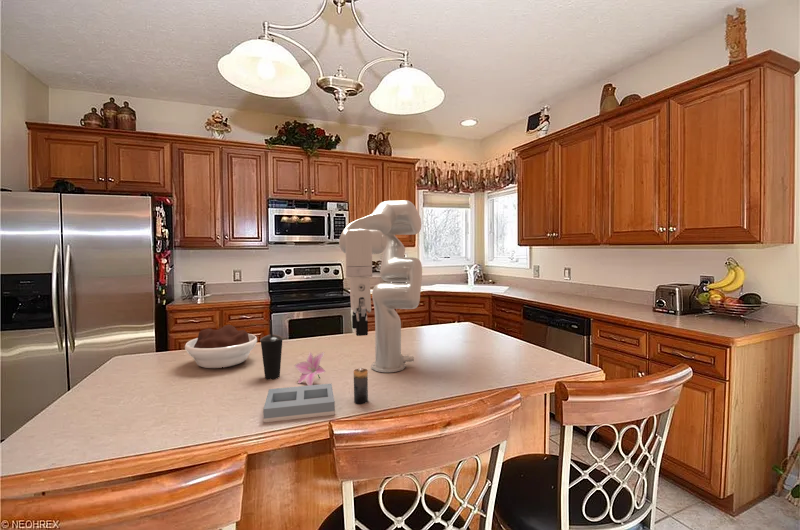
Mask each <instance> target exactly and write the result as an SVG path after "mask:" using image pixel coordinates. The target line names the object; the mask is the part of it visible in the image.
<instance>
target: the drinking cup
mask: <svg viewBox="0 0 800 530" xmlns="http://www.w3.org/2000/svg"><path fill="white" fill-rule="evenodd" d="M269 323H270V324H269V326H270V327H269V329H270V330H269V331H270V334H267V335H264V336H263V337H261V338H260V339H259V342H260V345H261V354H262V362H263V370H264V371H263V372H264V379H265V378H266V379H265V380H268V379H272V380H276V378H277V379H279V378H280V377H281V364H282V351H283V349H282V348H283V340H284V336H282V335H279V334H273V333H274V332H273V319H270V320H269ZM278 377H279V378H278Z"/></svg>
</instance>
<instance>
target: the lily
mask: <svg viewBox="0 0 800 530" xmlns="http://www.w3.org/2000/svg"><path fill="white" fill-rule="evenodd" d="M324 356H325V351H322V352H320V353H318V354H317V355H315V356H314V355H313V354H312V352H311V351H309V353H308V355H307V358H306V361H301V362H298V363H296V364H295V365H294V368H295V370H297V371H298V373H301V374H300V376H299V378H298V380H297V384H298V383H299V384H301V383H302V382H304V381H305V383H306V386H309V385H314V381H315V377H316V376H318V378H320V379H321V377H320V374H324V373H326V370H325V368H324V367H322V365H320V364H321V361H322V359H323V357H324Z"/></svg>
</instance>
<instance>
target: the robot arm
mask: <svg viewBox="0 0 800 530" xmlns="http://www.w3.org/2000/svg"><path fill="white" fill-rule="evenodd" d="M421 230H422V219H421V215H420V213H419V211H418V209H417V207H416V206H415V204H414V203H413V202H412V201H410V200H408V199H407V200H406V199H403V200H400V199H399V200H385V201H381V202H379V204H378V205H377V206H376V207H375V208H374V210H373V211H372V212H371V214H369V215H366V216H364V217H363V216H362V217H361V218H358V219H356V220H354V221H352V222H350V223H348V224H347V225H346V226H345V228H344V229H343V230H342V232H341V234H340V235H339V242H338V243H339V244H338V245H339V248H340V250H341V252H342V253H344V254H345V278H346V279H349V293H350V297H349V298H350V300H349V301H350V309H351V310H352V315H351V328H352V329H353V330H355V335H356V336H357V337H362V336H368V334H369V326H368V325H369V321H368V314H367V313H371V312H372V303H373V307H374V323H375V324H374V325H375V326H374V328H375V329H374V330H375V331H374V333H375V334H374V337H375V338H374V339H375V340H374V341H375V343H374V344H375V347H374V348H375V361H373V362H372V363H371V370H373V371H376V372H380V373H397V372H400V371H403V370H405V369H406V364H407V362H408V363H411V362H414V361H415V357H414V356H413V355H412V356H409V355H408V354H407V355H403V354H402V322H401V317H400V315H399V314H398V313H397V312H398V311H396V310H398V309H399V310H414V309H417V307H419V304H420V301H421V292H422V291H421V289H422V279H423V267H422V266H423V265H422V262H421V260H420V259H418V258H417V257H414V256H413V257H411V256H409V257H408V256H407V257H406V256H405V253H406V248H405V246H404V243H402V241H401V240H400V239H399V238H398V237H397V236H400V235H402V236H406V235H407V236H409V235H413V236H414V235H417V234H418V233H420V232H421ZM381 253H382V258H381V263H380V272H379V275H380V277H381V280H383V282H380V283H377V284H375V286H373V288H372V291H371V283H370V279H371V278H373V255H379V254H381ZM384 281H385V282H384ZM371 293H372V294H371ZM371 295H372V296H371Z"/></svg>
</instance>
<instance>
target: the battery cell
mask: <svg viewBox="0 0 800 530" xmlns="http://www.w3.org/2000/svg"><path fill="white" fill-rule="evenodd" d="M368 373H369V371H368V369H366V368H362V367H359V368H356V369H354V370H353V402H354V403H355V405H356V404H357V405H364V404H367V403H368V402H369V386H368V385H369V380H368V378H369V375H368Z"/></svg>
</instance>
